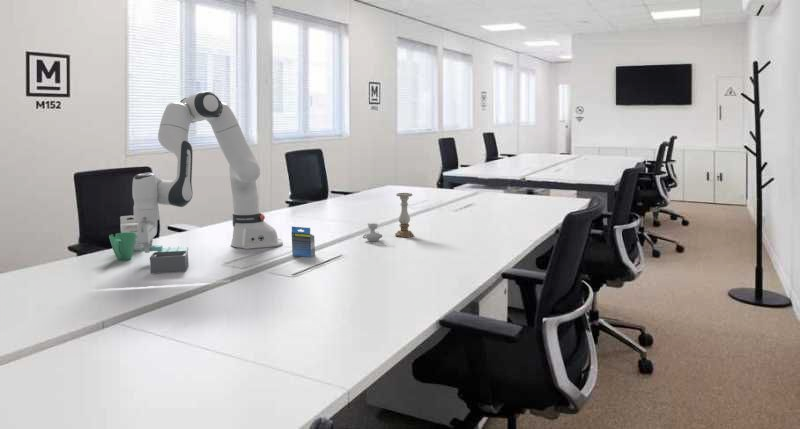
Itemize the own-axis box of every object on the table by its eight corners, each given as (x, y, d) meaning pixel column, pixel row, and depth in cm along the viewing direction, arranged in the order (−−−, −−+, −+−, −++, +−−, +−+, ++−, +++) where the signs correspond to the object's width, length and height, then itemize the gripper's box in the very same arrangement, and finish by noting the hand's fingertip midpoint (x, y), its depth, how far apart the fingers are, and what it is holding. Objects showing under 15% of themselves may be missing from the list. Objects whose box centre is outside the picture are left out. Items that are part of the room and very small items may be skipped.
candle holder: (393, 237, 295) (393, 194, 291) (396, 233, 303) (396, 192, 300) (412, 237, 293) (412, 195, 290) (414, 234, 302) (414, 192, 299)
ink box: (123, 252, 263) (121, 217, 261) (121, 250, 267) (119, 216, 265) (145, 249, 268) (142, 216, 265) (142, 247, 272) (140, 214, 269)
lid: (188, 249, 247) (188, 243, 246) (186, 253, 239) (185, 247, 239) (144, 251, 243) (144, 244, 243) (141, 255, 236) (140, 248, 235)
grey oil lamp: (381, 239, 290) (381, 221, 289) (383, 242, 283) (383, 224, 282) (362, 240, 288) (361, 222, 287) (363, 242, 282) (363, 224, 281)
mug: (115, 256, 255) (113, 232, 253) (140, 256, 256) (138, 232, 255) (104, 265, 240) (102, 239, 239) (130, 264, 242) (129, 239, 240)
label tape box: (315, 255, 257) (314, 226, 255) (310, 257, 253) (310, 227, 251) (296, 253, 260) (295, 224, 258) (291, 255, 256) (290, 226, 254)
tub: (188, 267, 236) (187, 250, 235) (185, 273, 228) (184, 255, 226) (155, 269, 234) (154, 252, 233) (151, 275, 225) (149, 257, 224)
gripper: (150, 219, 228) (152, 256, 230) (159, 211, 248) (161, 245, 250) (132, 220, 227) (134, 257, 229) (142, 212, 247) (144, 246, 249)
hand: (148, 251), depth 240 cm, fingers closed on lid, 3 cm apart
